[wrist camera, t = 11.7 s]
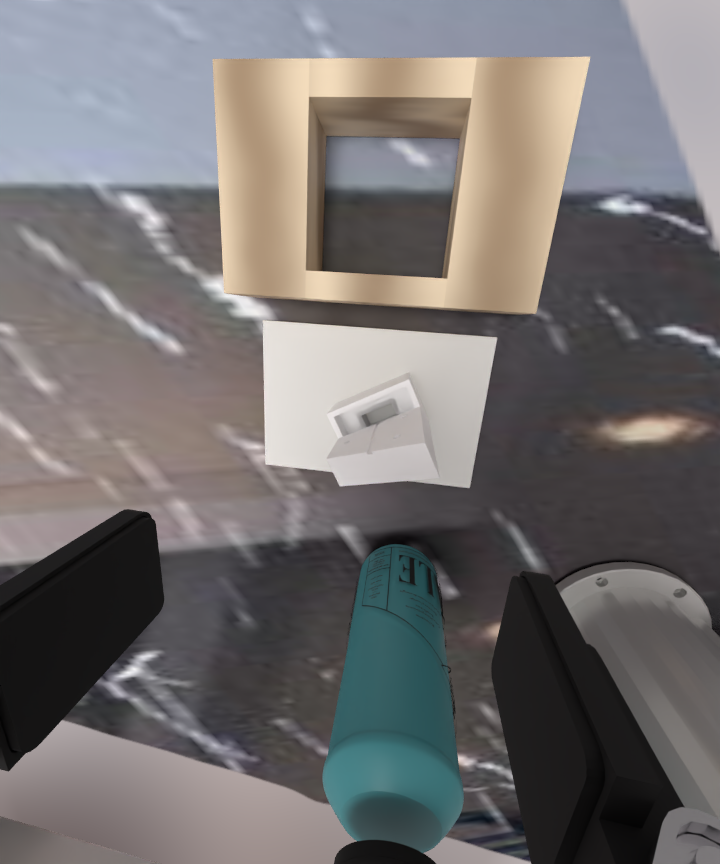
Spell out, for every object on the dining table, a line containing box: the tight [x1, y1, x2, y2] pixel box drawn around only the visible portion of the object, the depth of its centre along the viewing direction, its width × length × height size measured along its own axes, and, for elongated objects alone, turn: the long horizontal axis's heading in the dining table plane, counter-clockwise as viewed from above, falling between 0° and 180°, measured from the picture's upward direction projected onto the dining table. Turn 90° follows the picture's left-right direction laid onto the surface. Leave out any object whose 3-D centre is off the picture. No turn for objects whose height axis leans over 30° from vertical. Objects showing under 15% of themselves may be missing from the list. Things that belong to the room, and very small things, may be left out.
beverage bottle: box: [323, 544, 464, 864], centre depth 21 cm, size 6×7×20 cm
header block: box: [213, 57, 590, 315], centre depth 20 cm, size 18×11×4 cm, turn 86°
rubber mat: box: [263, 320, 497, 488], centre depth 26 cm, size 16×11×1 cm
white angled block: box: [326, 372, 440, 486], centre depth 22 cm, size 4×10×9 cm, turn 115°
